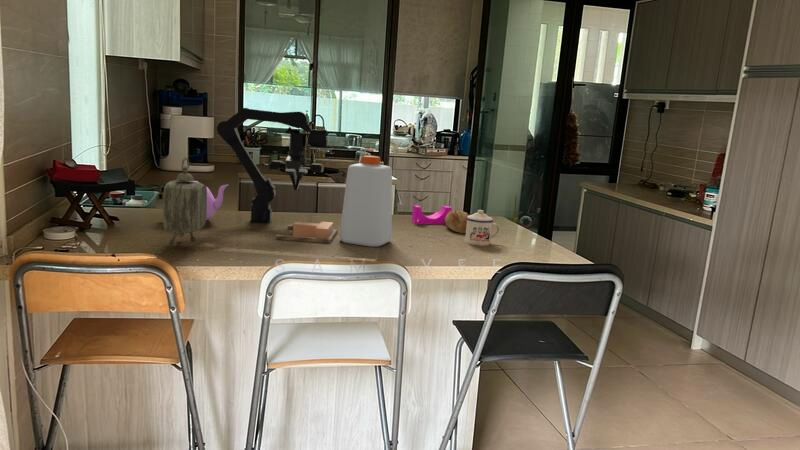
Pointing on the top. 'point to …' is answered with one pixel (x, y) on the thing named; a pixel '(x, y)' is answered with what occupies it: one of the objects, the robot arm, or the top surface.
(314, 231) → the t puck
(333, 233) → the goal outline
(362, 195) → the plastic bottle
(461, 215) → the bread roll
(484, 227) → the teacup with lid
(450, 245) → the top surface
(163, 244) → the top surface
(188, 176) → the tabletop clock
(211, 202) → the teapot
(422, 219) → the toy block
